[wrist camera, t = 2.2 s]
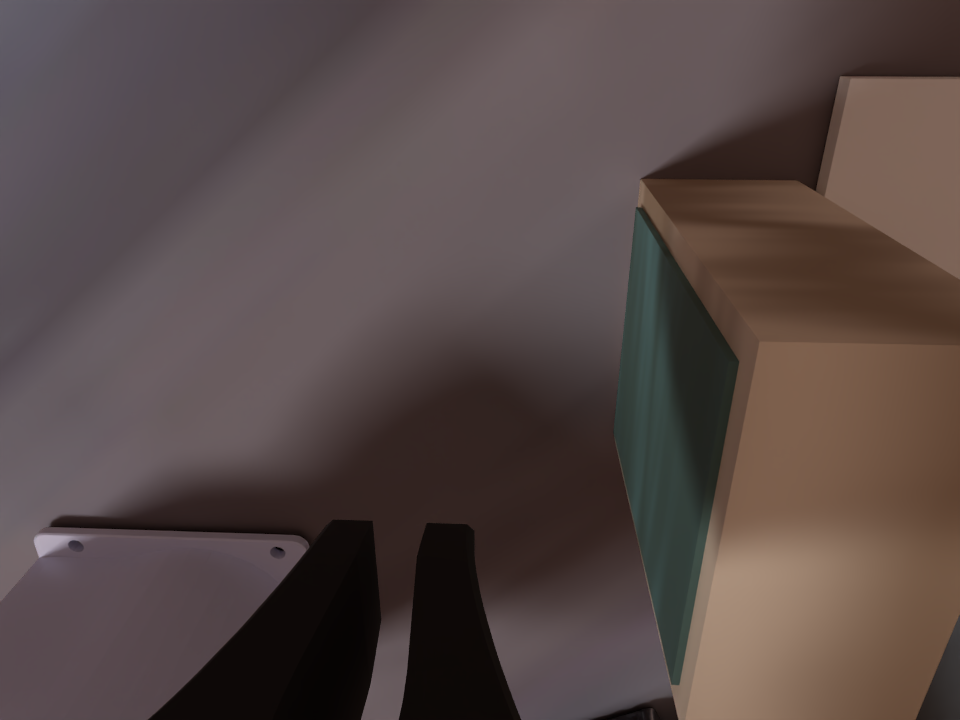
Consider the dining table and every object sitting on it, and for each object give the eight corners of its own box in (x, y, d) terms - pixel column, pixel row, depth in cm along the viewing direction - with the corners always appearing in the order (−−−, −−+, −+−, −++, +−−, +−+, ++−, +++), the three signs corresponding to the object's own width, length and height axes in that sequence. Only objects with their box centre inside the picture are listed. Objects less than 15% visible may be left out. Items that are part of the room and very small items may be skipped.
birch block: (609, 438, 22) (673, 734, 13) (634, 178, 18) (747, 341, 9) (744, 441, 22) (904, 745, 13) (797, 180, 18) (1071, 346, 9)
